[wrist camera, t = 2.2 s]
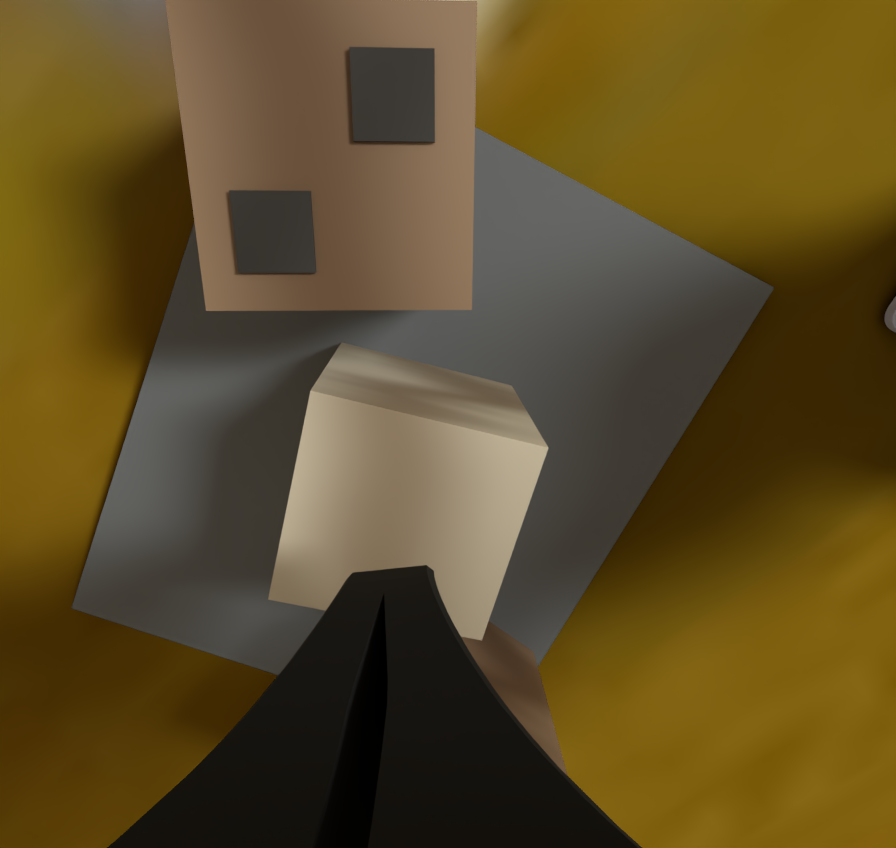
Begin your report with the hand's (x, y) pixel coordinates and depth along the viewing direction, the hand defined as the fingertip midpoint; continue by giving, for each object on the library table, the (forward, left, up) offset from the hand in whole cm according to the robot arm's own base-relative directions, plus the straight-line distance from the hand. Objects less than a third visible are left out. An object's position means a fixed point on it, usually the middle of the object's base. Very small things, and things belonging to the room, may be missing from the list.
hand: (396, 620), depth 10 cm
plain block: (0, 0, -8) cm, 8 cm away
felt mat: (0, 0, -9) cm, 9 cm away
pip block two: (+4, -6, -8) cm, 11 cm away
